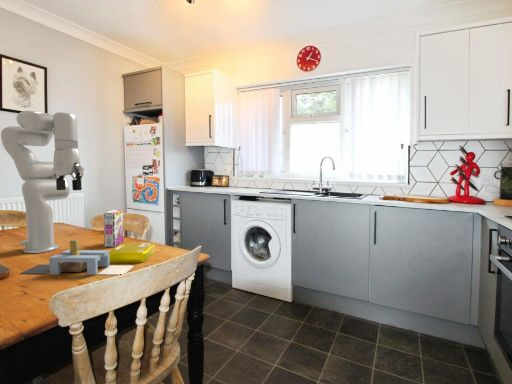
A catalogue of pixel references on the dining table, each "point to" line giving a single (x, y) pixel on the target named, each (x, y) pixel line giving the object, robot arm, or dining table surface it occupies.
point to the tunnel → (81, 260)
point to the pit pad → (38, 270)
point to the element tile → (131, 253)
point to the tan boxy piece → (73, 265)
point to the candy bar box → (113, 228)
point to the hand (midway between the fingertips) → (69, 190)
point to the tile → (116, 270)
